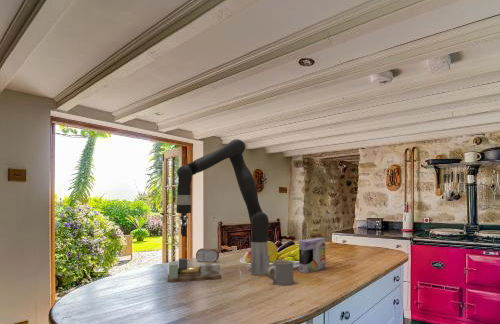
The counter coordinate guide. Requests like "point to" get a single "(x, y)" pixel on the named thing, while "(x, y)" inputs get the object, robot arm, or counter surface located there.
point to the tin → (207, 255)
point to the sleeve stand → (200, 274)
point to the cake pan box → (311, 255)
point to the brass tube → (185, 270)
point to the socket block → (173, 270)
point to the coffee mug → (281, 272)
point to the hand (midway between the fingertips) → (183, 235)
